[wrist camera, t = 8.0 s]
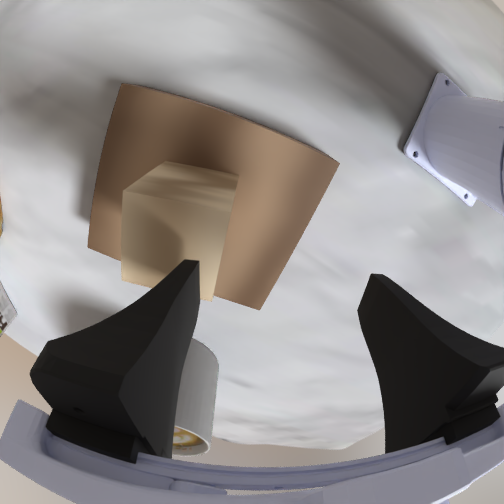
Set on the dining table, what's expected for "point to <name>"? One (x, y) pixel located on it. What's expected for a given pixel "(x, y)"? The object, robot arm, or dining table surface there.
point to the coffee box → (5, 311)
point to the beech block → (175, 223)
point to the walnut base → (220, 159)
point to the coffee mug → (196, 402)
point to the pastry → (1, 219)
